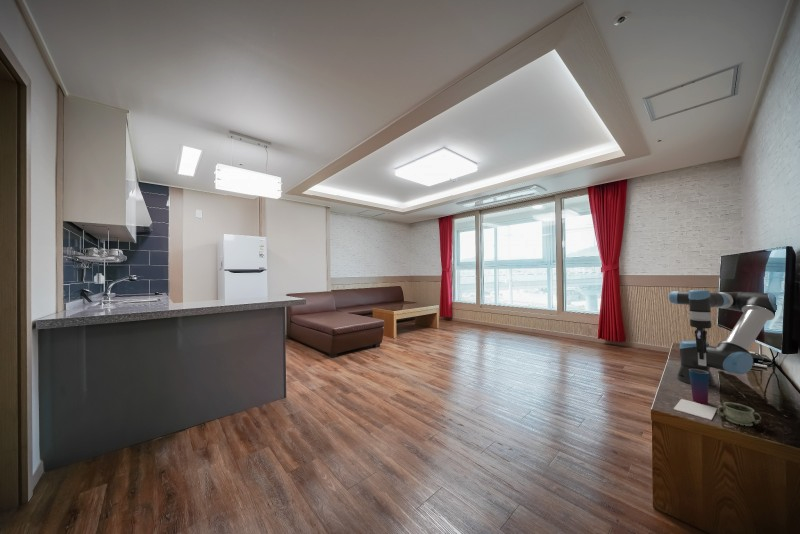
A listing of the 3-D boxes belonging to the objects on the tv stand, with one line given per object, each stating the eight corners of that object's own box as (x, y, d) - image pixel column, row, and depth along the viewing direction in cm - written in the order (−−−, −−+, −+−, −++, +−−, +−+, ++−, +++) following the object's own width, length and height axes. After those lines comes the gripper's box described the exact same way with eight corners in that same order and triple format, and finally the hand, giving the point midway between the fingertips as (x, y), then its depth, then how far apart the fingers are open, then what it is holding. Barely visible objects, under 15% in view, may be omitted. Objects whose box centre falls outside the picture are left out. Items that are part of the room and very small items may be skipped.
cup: (689, 397, 141) (687, 367, 142) (708, 400, 137) (707, 370, 137) (691, 402, 136) (690, 371, 136) (712, 406, 132) (710, 374, 132)
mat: (681, 399, 139) (681, 398, 139) (717, 408, 129) (717, 408, 129) (673, 409, 130) (673, 408, 130) (711, 420, 120) (711, 419, 120)
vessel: (720, 421, 120) (719, 406, 120) (716, 412, 126) (715, 399, 126) (765, 431, 112) (764, 415, 112) (758, 421, 118) (757, 406, 118)
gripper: (692, 317, 150) (694, 360, 150) (687, 320, 143) (689, 366, 142) (713, 319, 144) (715, 364, 144) (708, 322, 137) (711, 370, 136)
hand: (702, 365), depth 143 cm, fingers closed
